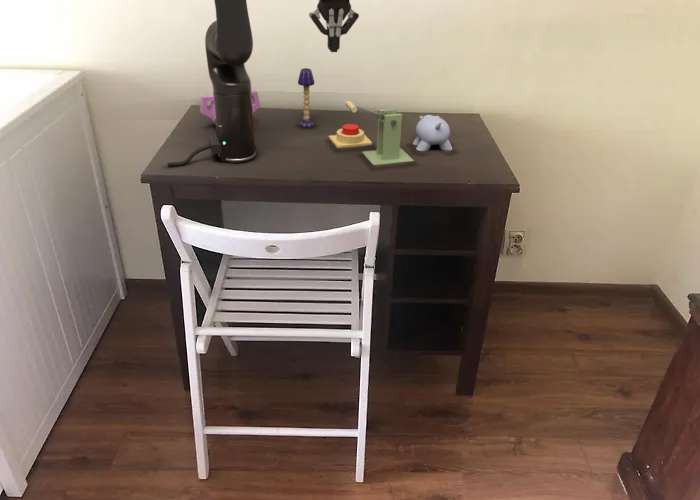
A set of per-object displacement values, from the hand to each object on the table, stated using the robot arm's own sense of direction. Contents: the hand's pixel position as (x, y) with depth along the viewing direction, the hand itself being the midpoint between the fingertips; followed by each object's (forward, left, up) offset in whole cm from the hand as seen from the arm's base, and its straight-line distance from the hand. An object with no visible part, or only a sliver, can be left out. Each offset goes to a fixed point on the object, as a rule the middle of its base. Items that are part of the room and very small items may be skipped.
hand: (333, 51), depth 154 cm
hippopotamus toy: (+25, -11, -24) cm, 37 cm away
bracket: (+10, -17, -24) cm, 31 cm away
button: (+4, -4, -21) cm, 22 cm away
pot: (-25, +18, -24) cm, 39 cm away
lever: (+5, -17, -12) cm, 21 cm away
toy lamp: (-4, +13, -24) cm, 28 cm away
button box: (+4, -4, -24) cm, 25 cm away
